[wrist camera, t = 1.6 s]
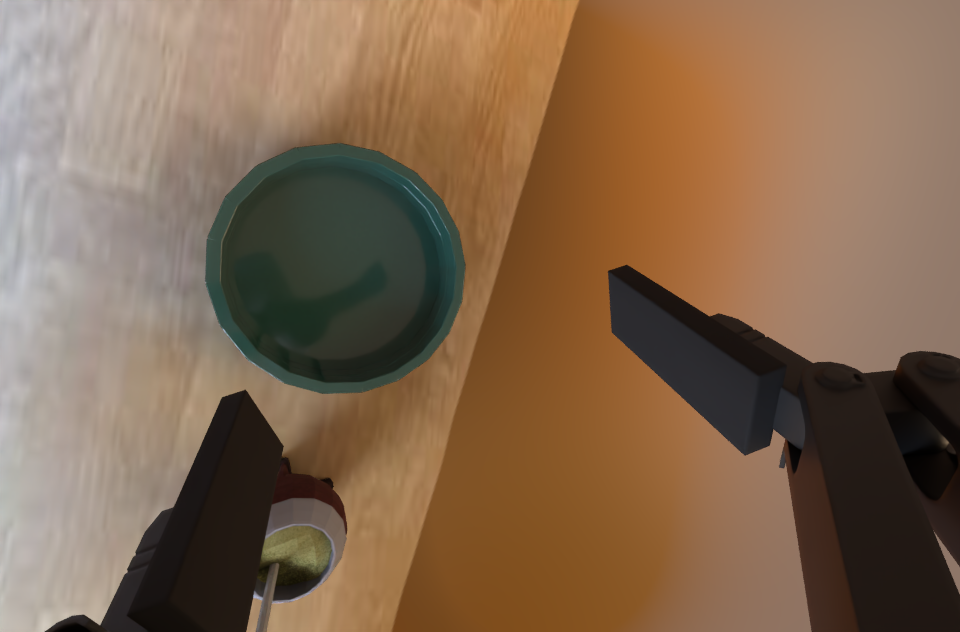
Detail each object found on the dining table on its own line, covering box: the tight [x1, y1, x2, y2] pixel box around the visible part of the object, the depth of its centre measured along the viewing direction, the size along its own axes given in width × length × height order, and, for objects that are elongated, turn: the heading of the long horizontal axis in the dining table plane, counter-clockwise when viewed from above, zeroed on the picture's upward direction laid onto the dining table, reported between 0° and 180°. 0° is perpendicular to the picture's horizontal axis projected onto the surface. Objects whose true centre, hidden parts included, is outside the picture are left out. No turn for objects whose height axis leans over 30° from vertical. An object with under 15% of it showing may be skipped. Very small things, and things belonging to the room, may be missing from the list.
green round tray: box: [205, 143, 466, 394], centre depth 30 cm, size 17×17×4 cm
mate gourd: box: [253, 458, 347, 632], centre depth 25 cm, size 8×8×15 cm
